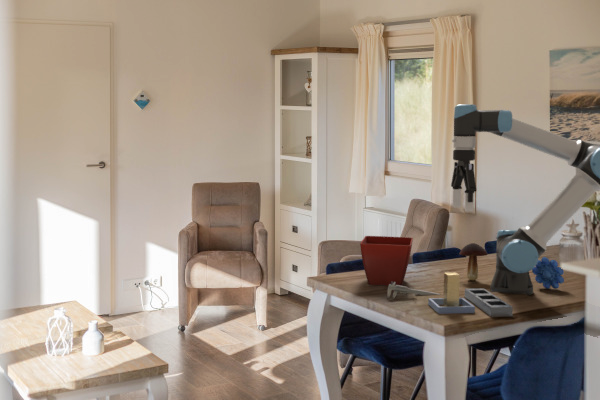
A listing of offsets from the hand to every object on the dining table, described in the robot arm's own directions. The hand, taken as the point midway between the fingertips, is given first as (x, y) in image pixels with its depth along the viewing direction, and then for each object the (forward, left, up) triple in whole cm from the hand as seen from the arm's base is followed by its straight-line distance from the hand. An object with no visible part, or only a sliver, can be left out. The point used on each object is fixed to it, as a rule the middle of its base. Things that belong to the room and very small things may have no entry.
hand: (462, 209), depth 248 cm
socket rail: (-4, +16, -32) cm, 36 cm away
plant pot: (+21, -27, -32) cm, 47 cm away
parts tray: (+9, +18, -32) cm, 38 cm away
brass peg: (+9, +18, -31) cm, 37 cm away
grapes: (-37, -11, -32) cm, 50 cm away
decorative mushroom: (-14, -28, -32) cm, 45 cm away
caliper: (+16, -2, -32) cm, 36 cm away
